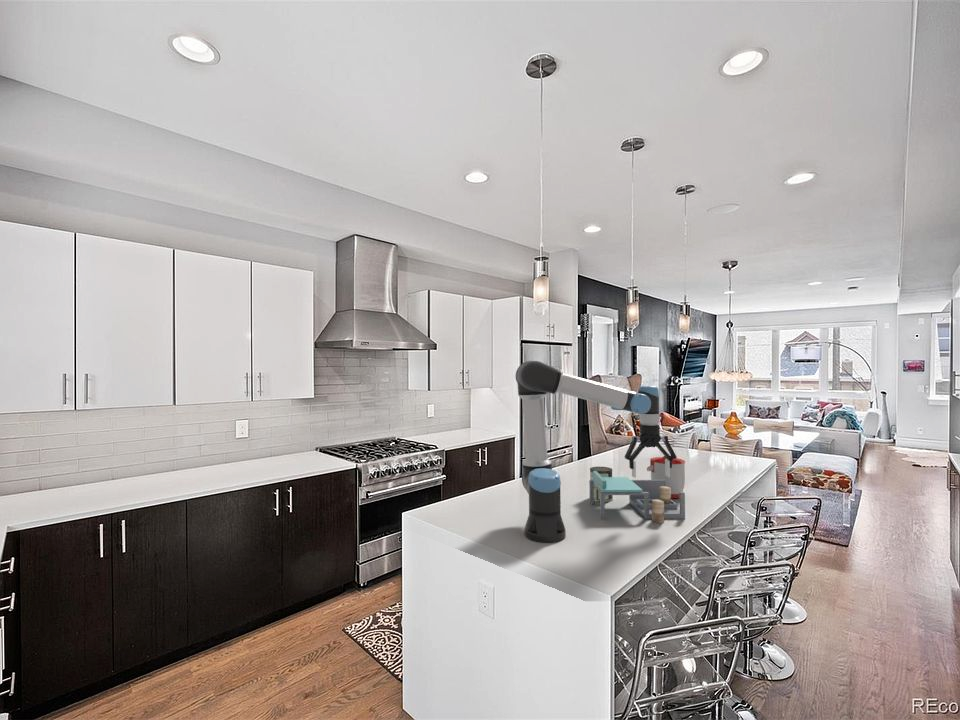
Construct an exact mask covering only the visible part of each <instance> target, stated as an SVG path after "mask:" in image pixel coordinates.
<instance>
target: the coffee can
mask: <svg viewBox="0 0 960 720" xmlns="http://www.w3.org/2000/svg"><path fill="white" fill-rule="evenodd" d="M589 470H590V471H589V480H592V477H593V471H597V472H598V473H599V474H600V475H601V476H602V477H613V468H611V467H607V466H593V467H589ZM593 489H594V502H599V503H600V492H602V490H601V489H600V488H599V487H598V486H597V485H596V484H595V483H593ZM613 496H614V495H605V502H606V503H607V502H611V501H613V499H614V497H613Z"/></svg>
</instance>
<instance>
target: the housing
mask: <svg viewBox="0 0 960 720" xmlns="http://www.w3.org/2000/svg"><path fill="white" fill-rule="evenodd" d="M630 480H631V481H632V482H634V483H635V484H636V485H637V486H639V487H640V488H641V489H642V490H643V492H600V502H599V512H600V515H599V518H600V520H605V519H606V517H605V516H606V513H605V512H606V510H605V509H606V507H605V505H606V503H605V495H613V496H628V497H629V498H628V499H629V500H628V501H629V504H630V505H631V506H632V507H633V508H634V509H635V510H636V511H637V512H638V513H639V514H640V515H641V516H642V517H643V518H644V519H646V520H652V500H660V490H659V487H661V486H665V487H666V480H651V479H630ZM588 483H589V486H588V487H589V488H588V489H589V491H588V492H589V504H590V505H594V502H595V501H594V489H593V483H594V482H593V480H590V479H589V482H588ZM679 519H681V520H682V519H683V520H685V519H686V493H685V491H683V492H680V497H679V508H678V503H676V501H675V502H674V501H673V500H672V499H671V504H664V520H679Z"/></svg>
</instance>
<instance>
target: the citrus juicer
mask: <svg viewBox="0 0 960 720" xmlns="http://www.w3.org/2000/svg"><path fill="white" fill-rule="evenodd" d="M665 459H667V458H666V457H665V456H664V455H663V456H659V457H658V456H657V457H652V458H650V459H649V462H650V465H649V466H647V467H646V471H647V472H650V480H666V487H670V488H671V499H680V492H684V488H685V483H686V479H685V478H686V475H685V474H686V473H685V471H686V470H685V469H686V468H685V467H686V466H685V465H686V460H684V459H681V458H678V457H677V458H676V459H673V461H672V468H670V477H667V476H666V475H665Z"/></svg>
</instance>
